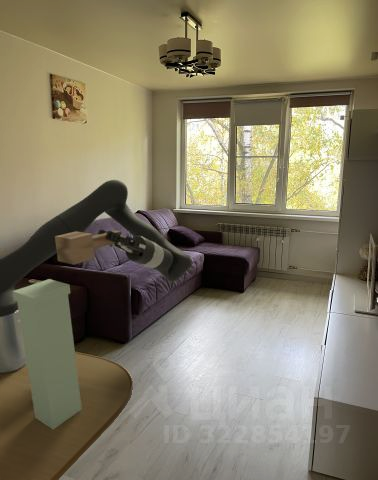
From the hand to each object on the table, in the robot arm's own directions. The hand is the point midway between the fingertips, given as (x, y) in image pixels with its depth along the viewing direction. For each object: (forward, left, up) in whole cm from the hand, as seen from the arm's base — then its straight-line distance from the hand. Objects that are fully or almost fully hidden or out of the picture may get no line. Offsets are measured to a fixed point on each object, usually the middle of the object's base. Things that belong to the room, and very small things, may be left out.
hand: (103, 233), depth 94 cm
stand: (0, -19, -40) cm, 45 cm away
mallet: (0, -3, -4) cm, 6 cm away
